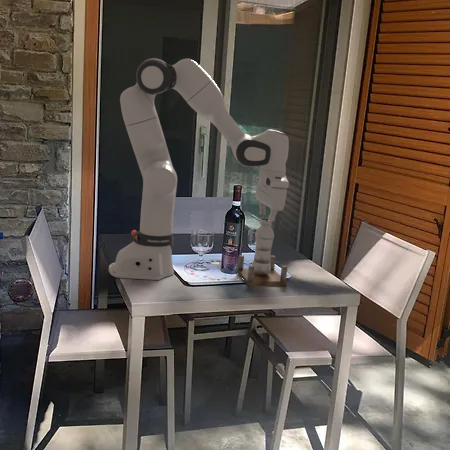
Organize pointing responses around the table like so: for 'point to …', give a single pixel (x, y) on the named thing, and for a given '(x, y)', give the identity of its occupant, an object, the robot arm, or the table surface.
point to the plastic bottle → (263, 248)
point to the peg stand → (261, 280)
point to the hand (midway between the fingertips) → (266, 217)
